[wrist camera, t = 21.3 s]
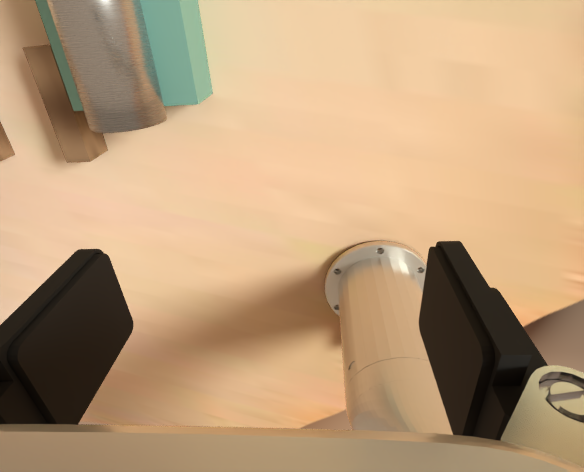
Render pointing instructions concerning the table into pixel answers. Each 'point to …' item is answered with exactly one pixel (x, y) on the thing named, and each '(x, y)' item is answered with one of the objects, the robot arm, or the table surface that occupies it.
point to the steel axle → (110, 62)
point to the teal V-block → (157, 51)
